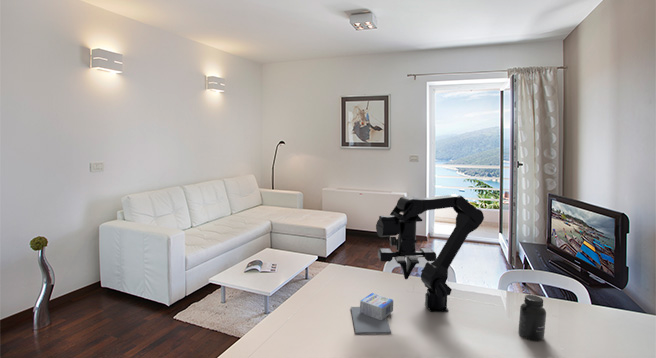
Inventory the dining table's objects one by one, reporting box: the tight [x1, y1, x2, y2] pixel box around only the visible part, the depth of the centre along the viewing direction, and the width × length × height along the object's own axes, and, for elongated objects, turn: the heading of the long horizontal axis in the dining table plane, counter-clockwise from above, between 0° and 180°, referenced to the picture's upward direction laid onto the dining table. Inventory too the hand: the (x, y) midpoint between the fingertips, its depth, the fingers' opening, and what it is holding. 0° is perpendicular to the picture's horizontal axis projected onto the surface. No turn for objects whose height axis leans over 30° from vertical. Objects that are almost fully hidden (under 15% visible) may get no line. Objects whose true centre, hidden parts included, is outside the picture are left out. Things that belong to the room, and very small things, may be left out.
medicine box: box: [359, 292, 394, 320], centre depth 118 cm, size 8×4×9 cm
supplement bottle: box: [518, 294, 547, 342], centre depth 105 cm, size 7×7×12 cm
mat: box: [350, 306, 392, 335], centre depth 114 cm, size 11×16×1 cm
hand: (405, 278), depth 118 cm, fingers closed
